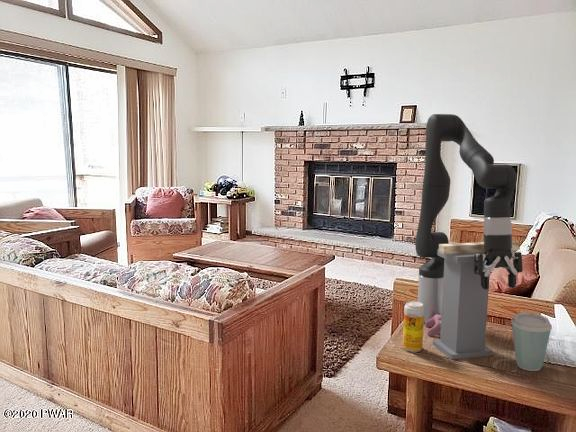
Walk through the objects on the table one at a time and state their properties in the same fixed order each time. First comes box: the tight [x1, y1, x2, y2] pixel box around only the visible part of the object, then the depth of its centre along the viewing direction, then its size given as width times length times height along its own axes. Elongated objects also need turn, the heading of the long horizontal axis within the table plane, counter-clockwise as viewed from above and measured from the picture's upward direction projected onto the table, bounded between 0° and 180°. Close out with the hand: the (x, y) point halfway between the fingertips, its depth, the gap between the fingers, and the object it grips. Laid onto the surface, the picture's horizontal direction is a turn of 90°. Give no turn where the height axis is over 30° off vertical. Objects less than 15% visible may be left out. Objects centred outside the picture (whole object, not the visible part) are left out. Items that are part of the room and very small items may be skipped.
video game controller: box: [424, 314, 441, 337], centre depth 162 cm, size 10×5×7 cm, turn 168°
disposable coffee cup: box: [510, 312, 553, 372], centre depth 136 cm, size 11×11×15 cm
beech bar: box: [439, 240, 520, 254], centre depth 144 cm, size 26×3×2 cm, turn 103°
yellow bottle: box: [402, 300, 425, 353], centre depth 147 cm, size 6×6×15 cm
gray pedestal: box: [432, 249, 493, 360], centre depth 145 cm, size 14×11×32 cm
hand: (498, 288), depth 135 cm, fingers open, 8 cm apart
